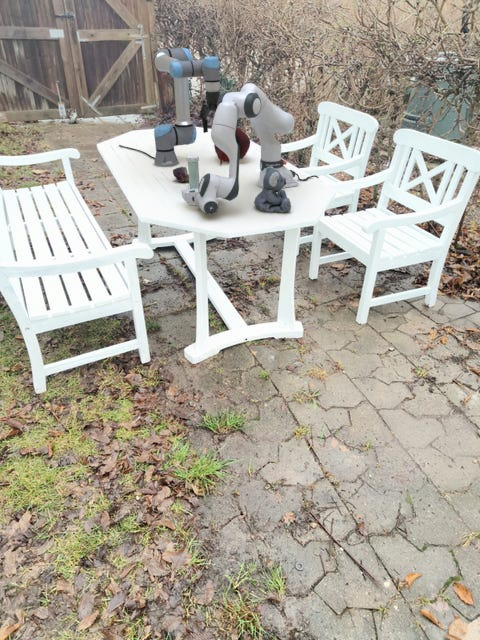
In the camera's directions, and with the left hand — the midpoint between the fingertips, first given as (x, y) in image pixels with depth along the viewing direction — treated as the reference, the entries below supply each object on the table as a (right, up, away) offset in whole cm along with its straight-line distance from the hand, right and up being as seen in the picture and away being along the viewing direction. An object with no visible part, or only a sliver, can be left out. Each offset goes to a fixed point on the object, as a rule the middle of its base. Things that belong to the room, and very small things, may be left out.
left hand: (214, 134), depth 246 cm
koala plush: (+30, -45, -19) cm, 58 cm away
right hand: (-7, -33, -12) cm, 36 cm away
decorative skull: (+9, +5, +54) cm, 55 cm away
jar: (-11, -31, +2) cm, 33 cm away
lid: (-11, -16, -9) cm, 21 cm away
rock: (-20, -21, +18) cm, 34 cm away
